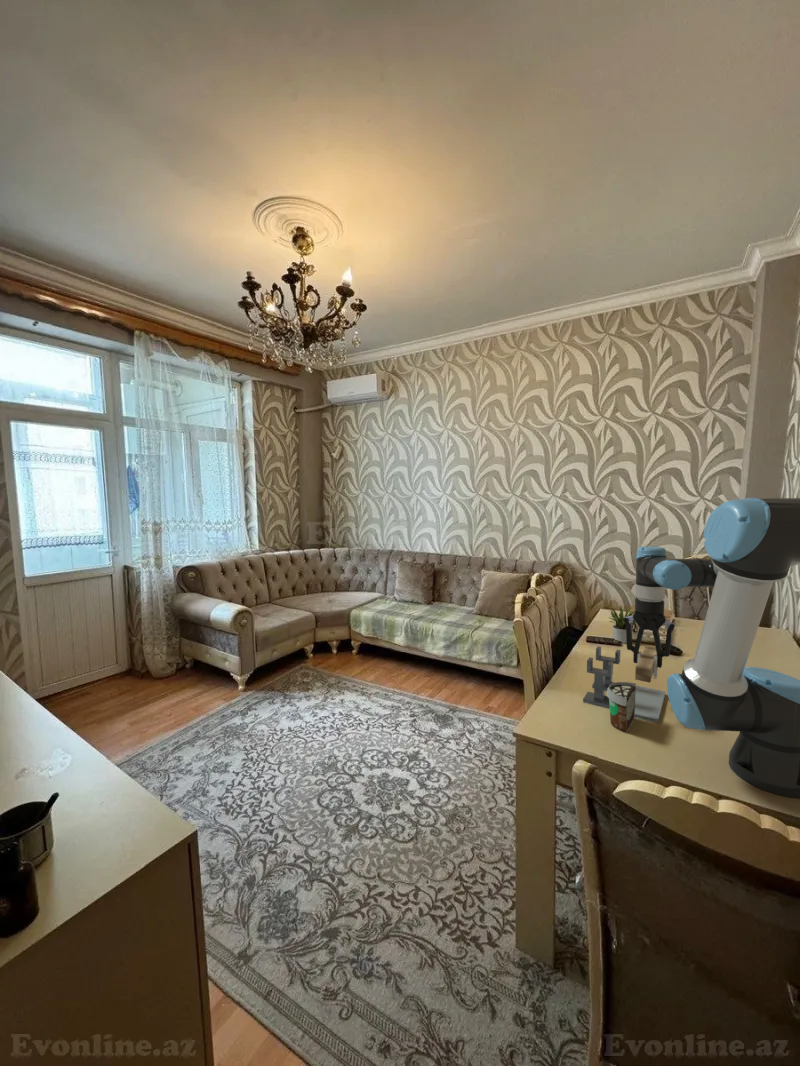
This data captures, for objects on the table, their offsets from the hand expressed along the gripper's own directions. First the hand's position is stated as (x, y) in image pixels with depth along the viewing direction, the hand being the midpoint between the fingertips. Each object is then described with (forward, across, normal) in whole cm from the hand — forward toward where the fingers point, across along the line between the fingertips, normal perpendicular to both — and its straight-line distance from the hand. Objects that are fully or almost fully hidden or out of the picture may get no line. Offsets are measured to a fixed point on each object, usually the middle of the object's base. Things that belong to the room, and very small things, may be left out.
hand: (647, 675), depth 130 cm
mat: (+9, 0, 0) cm, 9 cm away
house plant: (+10, +15, -58) cm, 60 cm away
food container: (+9, +5, +16) cm, 19 cm away
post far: (+9, +12, -6) cm, 16 cm away
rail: (-2, 0, 0) cm, 2 cm away
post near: (+9, +12, +6) cm, 16 cm away
